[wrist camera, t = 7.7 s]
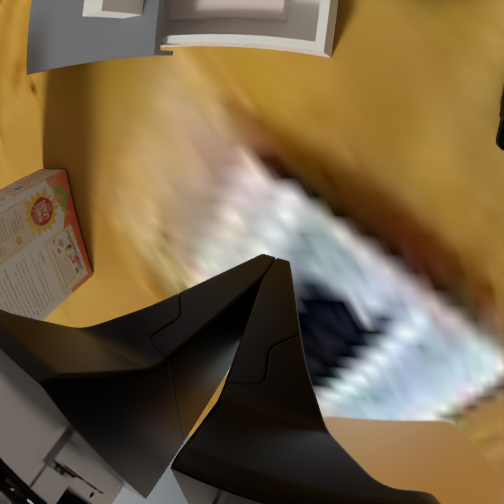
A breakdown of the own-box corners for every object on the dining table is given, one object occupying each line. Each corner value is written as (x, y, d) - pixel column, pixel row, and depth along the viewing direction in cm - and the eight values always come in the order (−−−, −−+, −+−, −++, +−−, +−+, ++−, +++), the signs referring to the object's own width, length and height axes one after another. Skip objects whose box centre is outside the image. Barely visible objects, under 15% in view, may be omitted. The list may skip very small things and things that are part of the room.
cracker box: (40, 167, 30) (-101, 255, 13) (68, 168, 28) (-95, 271, 12) (66, 265, 37) (-40, 362, 21) (95, 275, 36) (-21, 388, 19)
